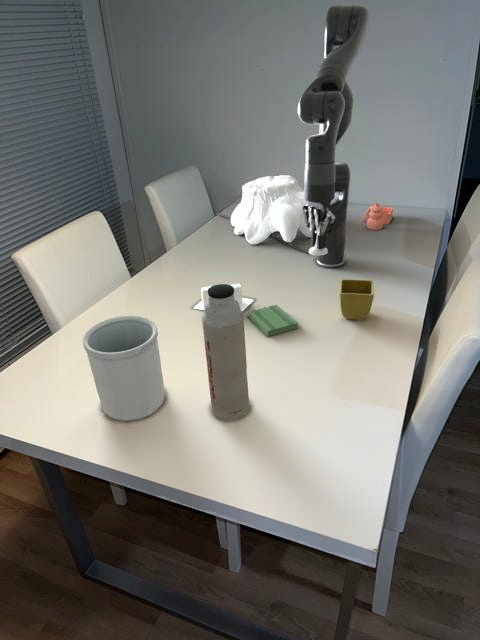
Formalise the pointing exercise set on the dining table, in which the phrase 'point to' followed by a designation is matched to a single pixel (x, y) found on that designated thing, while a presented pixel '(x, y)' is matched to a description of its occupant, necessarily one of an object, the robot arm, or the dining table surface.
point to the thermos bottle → (225, 353)
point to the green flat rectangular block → (272, 320)
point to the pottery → (378, 216)
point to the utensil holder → (126, 366)
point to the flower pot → (356, 298)
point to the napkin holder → (237, 296)
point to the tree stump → (270, 209)
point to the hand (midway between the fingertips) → (318, 246)
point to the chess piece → (315, 250)
